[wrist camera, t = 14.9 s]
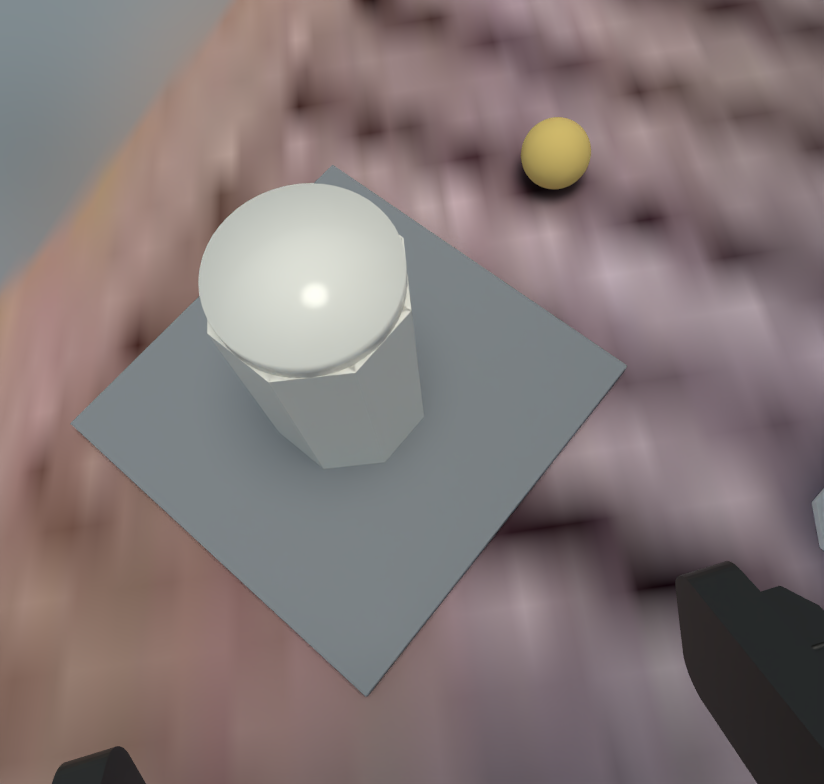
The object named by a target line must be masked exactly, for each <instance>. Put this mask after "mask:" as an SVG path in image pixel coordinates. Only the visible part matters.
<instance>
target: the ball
mask: <svg viewBox="0 0 824 784" xmlns="http://www.w3.org/2000/svg"><path fill="white" fill-rule="evenodd" d="M590 156H591V146H590V141H589V138H588V136H587V134H586V132H585V131H584V130H583V128H582V127H581V126H580V125H578V124H577V123H576V122H574V121H572V120H570V119H567V118H561V117H554V118H549V119H546V120H543V121H542V122H540V123H538V124H537V125H535V126H534V127H533V128H532V129H531V130H530V132H529V133H528V134H527V136H526V138H525V140H524V142H523V145H522V150H521V161H522V165H523V168H524V171H525V173H526V174H527V176H528V177H529V178H530V179H531V180H532V181H533V182H534V183H535V184H537V185H539V186H541V187H543V188H547V189H561V188H565V187H568V186H570V185H572V184H573V183H575V182H576V181H577V180H578V179H579V178H580V177H581V176H582V175H583V174H584V172H585V171H586V169H587V167H588V164H589V161H590Z"/></svg>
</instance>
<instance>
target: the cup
mask: <svg viewBox="0 0 824 784" xmlns="http://www.w3.org/2000/svg"><path fill="white" fill-rule="evenodd" d="M812 509H813V514H814V519H815V525H816V530H817V535H818V541H819V546H820V548H821V549H822V550H823V551H824V488H823V490H822V491H821V492H820V493H819V494H818V495H817V497H816V498H815V499H814V500H813V501H812Z"/></svg>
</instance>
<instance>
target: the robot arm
mask: <svg viewBox="0 0 824 784" xmlns="http://www.w3.org/2000/svg"><path fill="white" fill-rule="evenodd" d="M675 585H676V595H677V604H678V613H679V621H680V630H681V639H682V647H683V655H684V660H685V664H686V667H687V670H688V673H689V676H690V678H691V680H692V683H693V685H694V687H695V689H696V691H697V693H698V695H699V697H700V698H701V700H702V701H703V703H704V704H705V706H706V707H707V709H708V710H709V712H710V713H711V715H712V716H713V718H714V719H715V721H716V722H717V724H718V725H719V727H720V728H721V730H722V731H723V733H724V734H725V736H726V737H727V739H728V740H729V742H730V743H731V745H732V746H733V748H734V749H735V751H736V752H737V754H738V755H739V757H740V758H741V760H742V761H743V763H744V764H745V766H746V767H747V769H748V770H749V772H750V773H751V775H752V776H753V778H754V779H755V781H756V782H757V784H824V610H823V609H822V608H821V607H820V606H819V605H817V604H815V603H813V602H811V601H809V600H807V599H805V598H803V597H801V596H799V595H797V594H795V593H793V592H791V591H790V590H788V589H786V588H784V587H782V586H778V587H774V588H771V589H768V590H765V591H762V592H760V591H759V589H758V588H757V587H756V586H755V585H754V584H753V583H752V582H751V581H750V580H749V579H748V578H747V576H746V575H745V574H744V573H743V572H742V571H741V570H740V569H739V568H738V567H737V566H736V565H735V564H733V563H732V562H730V561H725V562H722V563H719V564H716V565H712V566H709V567H706V568H703V569H699V570H696V571H693V572H690V573H686V574H683V575H680V576H678V577H677V578H676V584H675ZM52 784H146V783H145V781H144V780H143V778H142V776H141V774H140V773H139V771H138V769H137V768H136V766H135V764H134V762H133V761H132V759H131V757H130V755H129V754H128V752H127V751H126V750H125V749H124V748H122V747H120V746H117V747H114V748H110V749H107V750H104V751H101V752H97V753H94V754H91V755H87V756H84V757H81V758H78V759H74V760H71V761H68V762H65V763H63V764H62V765H61V766H60V767H59V768H58V770H57V772H56V774H55V776H54V779H53V782H52Z"/></svg>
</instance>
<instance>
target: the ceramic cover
mask: <svg viewBox="0 0 824 784" xmlns="http://www.w3.org/2000/svg"><path fill="white" fill-rule="evenodd" d="M198 283H199V295H200V300H201V304H202V307H203V310H204V313H205V315H206V317H207V334H208V335H209V336H210V338H211V339H212V341H213V342H214V343H215V345H216V346H217V347H218V349H219V350H220V352H221V353H222V354H223V356H224V357H225V358H226V360H227V361H228V363H229V364H230V365H231V367H232V368H233V369H234V371H235V372H236V374H237V375H238V376H239V378H240V379H241V381H242V382H243V383H244V385H245V386H246V387H247V389H248V390H249V392H250V393H251V394H252V396H253V397H254V398H255V400H256V401H257V403H258V404H259V405H260V407H261V408H262V409H263V411H264V412H265V414H266V415H267V416H268V418H269V419H270V420H271V422H272V423H273V425H274V426H275V427H276V429H277V430H278V431H279V433H281V434H282V435H283V436H284V437H285V438H287V439H288V440H289V441H290V442H291V443H293V444H294V445H295V446H296V447H298V448H299V449H300V450H301V451H302V452H304V453H305V454H306V455H307V456H309V457H310V458H311V459H312V460H313V461H315V462H316V463H317V464H318V465H319V466H321V467H322V468H323V469H328V468H337V467H346V466H356V465H365V464H374V463H384V462H386V461H387V459H388V458H389V457H390V456H391V455H392V454H393V452H394V451H395V450H396V449H397V448H398V446H399V445H400V444H401V443H402V442H403V441H404V439H405V438H406V437H407V436H408V435H409V434H410V432H411V431H412V430H413V429H414V428H415V426H416V425H417V424H418V423H419V422H420V421H421V419H422V418H423V417H424V412H423V403H422V393H421V384H420V375H419V366H418V357H417V348H416V340H415V331H414V323H413V314H412V306H411V297H410V289H409V280H408V272H407V263H406V255H405V246H404V238H403V237H402V236H400V235H399V234H398V232H397V230H396V228H395V226H394V225H393V224H392V222H391V221H390V219H389V218H388V217H387V216H386V215H385V213H384V212H383V211H382V210H381V209H380V208H379V207H377V206H376V205H375V204H373V203H372V202H371V201H370V200H368V199H366V198H365V197H363V196H361V195H359V194H357V193H355V192H352V191H350V190H348V189H344V188H341V187H337V186H333V185H327V184H315V183H307V184H295V185H289V186H284V187H280V188H277V189H273V190H270V191H268V192H265V193H263V194H260V195H258V196H257V197H255V198H253V199H251V200H249V201H247V202H246V203H245V204H243V205H242V206H240V207H239V208H237V209H236V210H235V211H234V212H233V213H232V214H230V215H229V216H228V217H227V218H226V219H225V221H224V222H223V223H222V224H221V225H220V226H219V227H218V229H217V230H216V232H215V233H214V234H213V236H212V238H211V239H210V241H209V243H208V245H207V247H206V250H205V252H204V255H203V257H202V261H201V266H200V270H199V282H198Z"/></svg>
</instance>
